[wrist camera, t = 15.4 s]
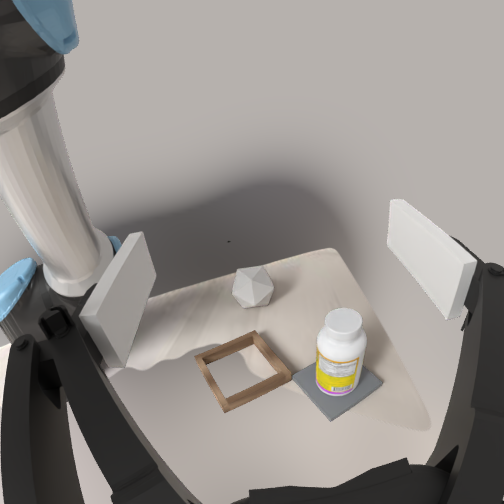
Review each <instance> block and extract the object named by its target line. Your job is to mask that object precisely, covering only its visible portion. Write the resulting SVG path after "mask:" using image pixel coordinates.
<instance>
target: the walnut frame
mask: <svg viewBox="0 0 504 504" xmlns="http://www.w3.org/2000/svg"><path fill="white" fill-rule="evenodd" d="M252 344H255V346H256V347H257V348H258V349H259V351H260V352H261V353H262V354H263V356H264V357H265V358H266V359H267V360H268V362H269V363H270V364H271V365H272V367H273V368H274V369H275V370H276V371H277V373H278V374H276V375H274V376H272V377H270V378H268V379H266V380H264V381H262V382H260V383H258V384H256V385H254V386H252V387H250V388H248V389H246V390H243V391H241V392H239V393H237V394H235V395H233V396H231V397H229V398H226V399H225V398H224V396H223V394H222V392H221V391H220V389H219V387H218V386H217V384H216V382H215V380H214V379H213V377H212V375H211V373H210V372H209V370H208V368H207V366H206V365H207V364H209V363H211V362H213V361H216V360H218V359H221V358H223V357H225V356H228V355H230V354H232V353H234V352H237V351H239V350H241V349H243V348H246V347H248V346H250V345H252ZM195 359H196V362H197V364H198V366H199V368H200V370H201V372H202V374H203V375H204V377H205V379H206V381H207V383H208V385H209V387H210V388H211V390H212V392H213V394H214V396H215V397H216V399H217V401H218V403H219V404H220V406H221V408H222V410H223V411H224V413H226V412H228V411H230V410H233V409H235V408H237V407H239V406H241V405H243V404H246V403H248V402H250V401H252V400H254V399H256V398H258V397H260V396H262V395H264V394H266V393H268V392H270V391H272V390H274V389H276V388H278V387H279V386H281V385H283V384H285V383H287V382H289V381H291V372H290V371H289V370H288V368H287V367H286V366H285V365H284V364H283V363H282V361H281V360H280V359H279V358H278V357H277V356H276V354H275V353H274V352H273V351H272V350H271V349H270V347H269V346H268V345H267V344H266V343H265V342H264V340H263V339H262V338H261V337H260V336H259V334H258V333H257V332H256V331H255V330H254V331H252V332H250V333H248V334H245V335H243V336H241V337H239V338H236V339H234V340H232V341H230V342H227V343H225V344H223V345H220V346H218V347H216V348H213V349H211V350H208V351H206V352H204V353H201V354H199V355H197V356H195Z"/></svg>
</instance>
